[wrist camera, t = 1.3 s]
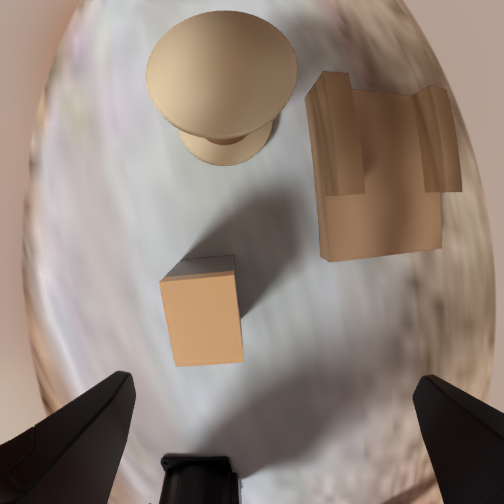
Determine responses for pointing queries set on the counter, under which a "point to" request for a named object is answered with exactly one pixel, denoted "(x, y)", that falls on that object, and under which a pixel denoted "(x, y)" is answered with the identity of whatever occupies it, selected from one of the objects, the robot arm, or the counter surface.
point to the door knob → (222, 83)
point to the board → (380, 168)
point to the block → (203, 311)
